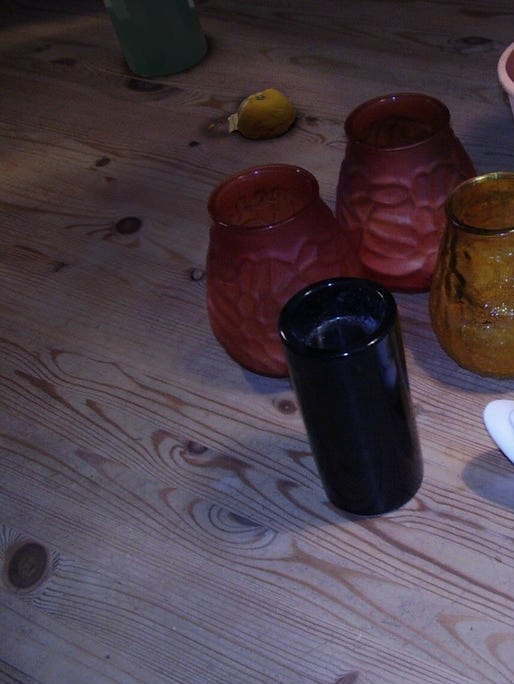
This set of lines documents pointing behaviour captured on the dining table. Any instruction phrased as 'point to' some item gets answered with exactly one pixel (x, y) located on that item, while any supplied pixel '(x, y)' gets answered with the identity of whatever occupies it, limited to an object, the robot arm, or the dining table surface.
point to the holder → (158, 34)
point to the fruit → (263, 115)
